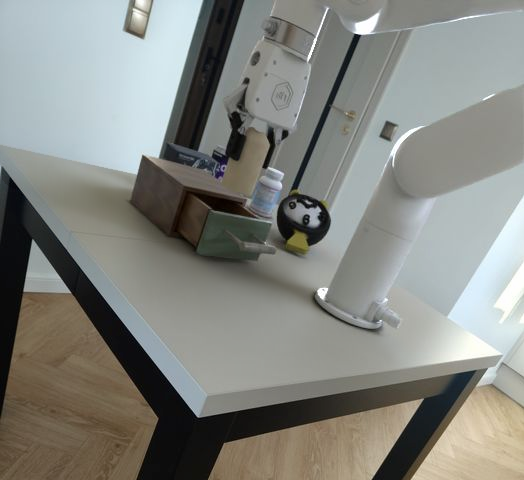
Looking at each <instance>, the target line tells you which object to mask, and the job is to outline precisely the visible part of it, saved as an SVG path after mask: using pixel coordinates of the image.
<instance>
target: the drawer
mask: <svg viewBox="0 0 524 480" xmlns="http://www.w3.org/2000/svg"><path fill="white" fill-rule="evenodd" d="M272 226H273V223H272V222H271V221H269V220H265V219H261V217H259V215H258V214H256V213H254V212H252V211H251V210H250V209H248V208H247V207H246V206H245V207H244V206H242V205H241V204H239V203H238V202H236V201H232V200H228V199H223V198H218V197H213V196H209V195H204V194H199V193H195V192H190V191H186V195H185V198H184V201H183V204H182V208H181V211H180V214H179V217H178V221H177V224H176V227H175V229H176V230H177V231H178V232H179V233H181V234H182V235H183V236H184V237H185V238H184V239H186V240H187V241H189V242H190V243H191V244H192V245H193V246H194V247H196V253H197V254H198V255H199V256H205V257H206V256H207V257H214V258H215V257H216V258H224V259H234V260H241V261H242V260H243V261H251V262H252V261H253V262H258V261H259V259H260V257H261V254H266V255H272V256H273V255H276V253H277V247H276V246H275V245H269V244H268V243H267V242H266V241H267V239H268V236H269V233H270V230H271V229H272Z"/></svg>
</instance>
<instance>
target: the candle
mask: <svg viewBox="0 0 524 480" xmlns="http://www.w3.org/2000/svg"><path fill="white" fill-rule="evenodd" d="M244 135H245V136H247V137H246V141H245V144H244V147H243V150H242V153H241V155H240V158H239V160H238V161H235V160H233V159H231V158H230V157H229V160H228V163H227V166H226V169H225V172H224V175H223V178H222V181H221V184H222V185H223V186H224V187H225V188H227V189H229V190H231V191H233V192H236V193H238V194H240V195H242V196H244V197H245V196H246V197H251V196H252V195H253V194H254V190H255V189H256V186H257V183H258V181H259V178H260V174H261V171H262V169H263V168H262V166H263V163H264V161H265V158H266V155H267V152H268V150H269V147H270V144H269V141H268V139H267V137H266V132H263V131H259V130H257V129H256V128H255V127H253V126H249V127H248V129H247V130H246V132H245V133H244Z"/></svg>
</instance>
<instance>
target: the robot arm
mask: <svg viewBox="0 0 524 480" xmlns="http://www.w3.org/2000/svg"><path fill="white" fill-rule="evenodd" d="M328 10H331V11H333V12H334V13H336V15H337V16H338V17H339V20H340V22H341V25H342V26H343V27H344V28H345V29H346V30H348V31H349V32H351V33H353V34H357V35H373V34H381V33H382V34H383V33H388V32H389V33H390V32H398V31H407V30H412V29H416V28H422V27H428V26H433V25H437V24H445V23H446V24H447V23H451V22H456V21H459V20H463V19H470V18H476V17H484V16H485V17H486V16H492V15H499V14H509V13H516V12H524V0H274V2H273V6H272V9H271V11H270V15H269V17H268V19H267V18H265V19H263V20H262V22H261V26H260V28H261V29H262V30H263V31H264V33H263V36H262V39H259V40H258V41H257V43H256V44H255V46H254V48H253V50H252V52H251V54H250V56H249V58H248V60H247V63H246V65H245V67H244V70H243V72H242V74H241V77H240V79H239V83H238V85H237V88H236V89H234V90H233V91H232V92H230V93H229V94H228V95H227V96H225V97H224V98H223V99H222V104H223V105H224V106H223V107H224V108H225V110H226V112H227V118H228V120H229V128H230V129H231V132H230V135H229V138H228V140H227V144H226V146H225V147H226V151H225V155H226V156H228V157H230V158H231V159H233V160H235V161H238V160H239V158H240V155H241V153H242V150H243V147H244V144H245V141H246V137H247V136H245V135H244V133H245V132H246V130H247V129H248V127H251V124H252V123H253V122H254V120H255V119H257V120H259V121H260V122H261V121H262V122H264V123H266V126H265V134H266V137H267V139H268V141H269V144H270V147H269V150H268V152H267V155H266V158H265V161H264V163H263V166H262V169H264V170H266V169H267V168H268V167H270V166H269V165H270V163H271V160H272V157H273V155H274V153H275V150H276V147H279V146H280V145H281V143H282V141H284V140H285V139H287V138H288V137H289V136H290V135H291V134H293V133H295V132H296V131H298V127H299V126H298V122H297V119H298V116H299V113H300V111H301V108H302V105H303V102H304V98H305V96H306V92H307V88H308V83H309V79H310V75H311V67H312V64H311V63H310V62H309V60H310V58H311V55H312V52H313V50H314V47H315V44H316V42H317V39H318V36H319V34H320V31H321V28H322V25H323V23H324V21H325V18H326V14H327V12H328ZM521 164H524V83H523V84H520V85H518V86H516V87H511V88H507V89H504V90H501V91H498V92H495V93H493V94H491V95H489V96H487V97H485V98H483V99H482V100H480V101H479V102H476V103H474V104H471V105H469V106H467V107H465V108H462V109H460V110H458V111H456V112H454V113H452V114H450V115H447V116H444V117H442V118H440V119H438V120H436V121H433V122H431V123H430V124H429V123H428V124H426V125H422V126H417V127H415V128H412V129H410V130H409V131H407V132H405V133H404V134H403V135H402V136H401V137H400V138H399V139H398V140H397V142H396V143H395V144H394V146H393V148H392V149H391V152H390V154H389V156H388V158H387V160H386V163H385V165H384V168H383V170H382V173H381V175H380V177H379V179H378V182H377V184H376V187H375V188H374V190H373V193H372V195H371V197H370V199H369V201H368V204H367V205H366V208H365V210H364V212H363V214H362V216H361V218H360V220H359V222H358V224H357V226H356V228H355V231H354V233H353V235H352V237H351V239H350V241H349V243H348V245H347V247H346V249H345V252H344V254H343V256H342V258H341V260H340V262H339V264H338V267H337V269H336V271H335V273H334V275H333V277H332V279H331V281H330V284H329V285H328V287H321V288H318V289H317V290H316V292H315V295H314V297H315V300H316V302H317V303H318V304H319V306H320V307H321V308H323V309H324V310H325V311H327V312H328V313H329V314H331V315H332V316H334V317H336V318H338V319H339V320H341V321H343V322H346V323H348V324H351V325H353V326H357V327H359V328H364V329H369V330H375V329H379V328H381V326H382V324H383V322H384V323H386V324H387V325H388V326H389V327H392V328H394V329H395V330H397V329H399V327H400V326H401V324H402V322H403V318H401V317H399V316H400V314H399V313H397V312H395V311H392V310H391V309H389V307H388V306H387V304H388V302H389V299H388V298H387V295H388V294H389V292H390V290H391V288H392V286H393V284H394V282H395V281H396V279H397V276H398V275H399V273H400V271H401V269H402V267H403V265H404V263H405V262H406V259H407V258H408V256H409V254H410V252H411V250H412V248H413V246H414V245H415V243H416V242H417V240H418V237H419V236H420V234H421V232H422V230H423V228H424V226H425V225H426V222H427V220H428V219H429V217H430V214H431V212H432V210H433V209H434V208H433V207H434V205H435V203H436V201H437V199H438V197H441V196H445V195H447V194H450V193H452V192H453V193H454V192H455V191H458V190H461V189H464V188H465V187H468V186H472V185H473V184H476V183H479V182H481V181H483V180H486V179H489V178H491V177H494V176H496V175H499V174H502V173H504V172H507V171H508V170H511V169H513V168H515V167H518V166H520V165H521Z"/></svg>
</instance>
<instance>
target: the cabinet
mask: <svg viewBox="0 0 524 480" xmlns="http://www.w3.org/2000/svg"><path fill="white" fill-rule="evenodd" d="M186 191H190V192H195V193H199V194H204V195H209V196H213V197H218V198H223V199H228V200H232V201H236V202H238V203H239V204H241V205H242V206H244V207H245V208H246V205H247V201H248V198H247V197H245V196H244V195H242V194H238V193H236V192H233V191H231V190H229V189H227V188H225V187H224V186H223V185H222V184H221V181H220V180H218V179H217V178H215V177H214V176H212V175H211V174H209V173H208V172H206V171H205V170H202V169H198V168H194V167H191V166H187V165H183V164H179V163H175V162H171V161H167V160H163V159H162V158H158V157H155V156H151V155H148V154H144V153H143V154H141V159H140V163H139V166H138V169H137V174H136V177H135V181H134V185H133V189H132V193H131V195H130V197H131V198H130V203H131V204H133V206H134V207H136V208H137V209H138V210H139V211H141V212H142V213H143V214H144V215H145V216H146V217H147V218H148V219H149V220H150V221H152V223H154V224H155V225H156V226H157V227H158V228H159V229H161V231H163V232H164V233H165V234H166V235H167V236H168V237H173V238H181V239H186V238H185V237H184V236H183V235H182V234H181V233H179V232H178V231H177V230H176V229H175V227H176V224H177V221H178V217H179V214H180V211H181V208H182V204H183V201H184V198H185V195H186Z"/></svg>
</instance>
